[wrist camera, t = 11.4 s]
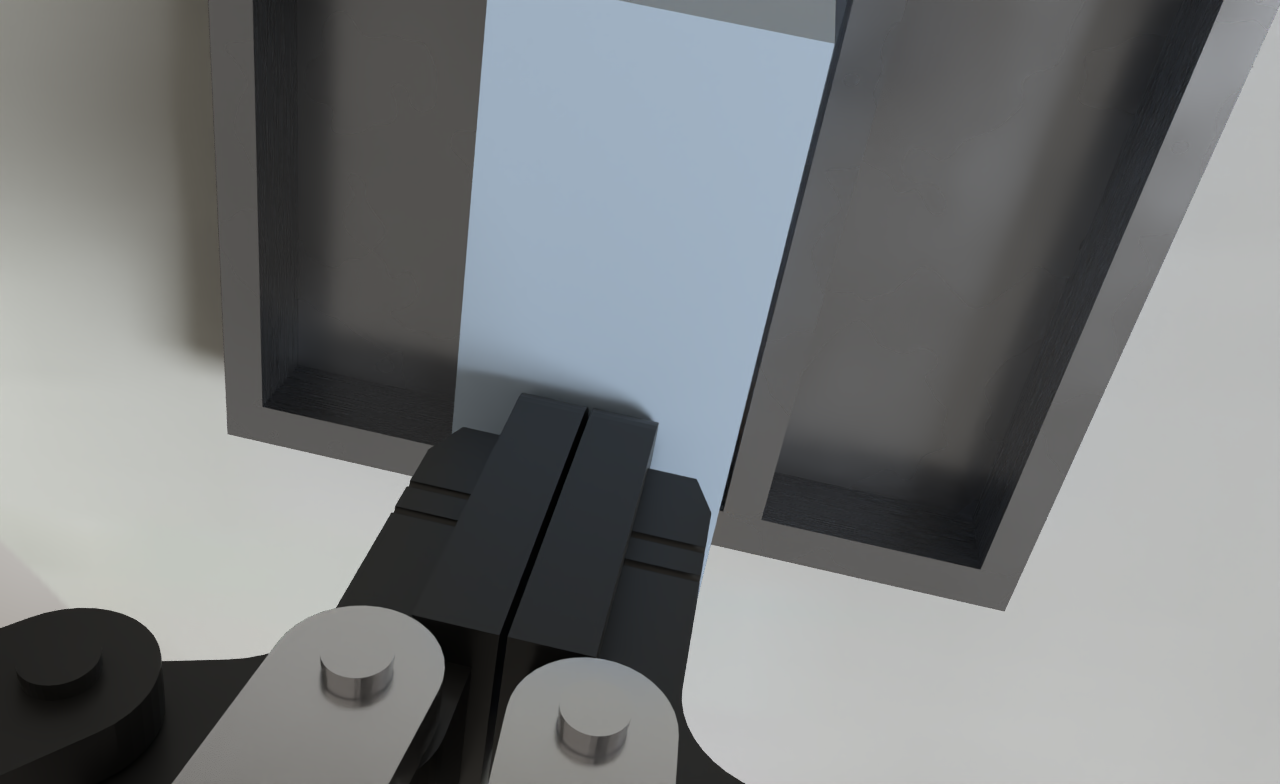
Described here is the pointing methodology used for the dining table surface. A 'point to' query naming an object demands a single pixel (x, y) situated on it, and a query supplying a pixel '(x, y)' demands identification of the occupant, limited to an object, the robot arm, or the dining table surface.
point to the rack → (810, 266)
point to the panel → (635, 210)
